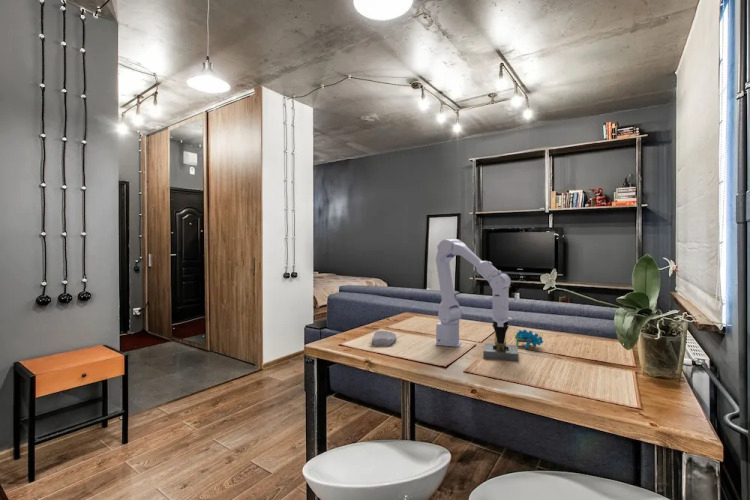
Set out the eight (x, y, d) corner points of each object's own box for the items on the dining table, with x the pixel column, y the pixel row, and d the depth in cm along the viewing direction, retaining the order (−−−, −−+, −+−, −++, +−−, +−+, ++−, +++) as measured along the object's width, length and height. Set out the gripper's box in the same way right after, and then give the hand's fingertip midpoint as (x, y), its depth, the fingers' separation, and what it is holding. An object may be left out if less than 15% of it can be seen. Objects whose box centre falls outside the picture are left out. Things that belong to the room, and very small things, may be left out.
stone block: (395, 343, 161) (374, 338, 162) (397, 332, 160) (376, 328, 161) (393, 352, 149) (370, 346, 150) (396, 341, 148) (372, 335, 150)
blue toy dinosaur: (547, 343, 144) (536, 328, 140) (544, 356, 141) (532, 341, 137) (521, 341, 153) (510, 327, 149) (518, 353, 150) (506, 339, 146)
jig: (483, 358, 132) (483, 351, 132) (484, 348, 144) (484, 342, 144) (518, 361, 128) (518, 354, 128) (517, 351, 140) (517, 345, 140)
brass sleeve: (495, 349, 135) (495, 331, 135) (494, 346, 139) (494, 328, 138) (506, 350, 134) (506, 331, 134) (505, 347, 137) (505, 329, 137)
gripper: (512, 309, 128) (512, 347, 128) (511, 303, 141) (511, 337, 141) (491, 308, 130) (491, 346, 130) (492, 302, 144) (492, 336, 144)
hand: (500, 341), depth 136 cm, fingers closed on brass sleeve, 4 cm apart
